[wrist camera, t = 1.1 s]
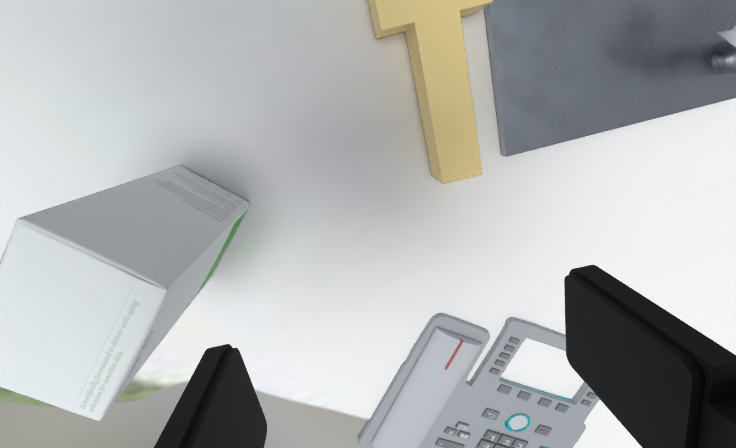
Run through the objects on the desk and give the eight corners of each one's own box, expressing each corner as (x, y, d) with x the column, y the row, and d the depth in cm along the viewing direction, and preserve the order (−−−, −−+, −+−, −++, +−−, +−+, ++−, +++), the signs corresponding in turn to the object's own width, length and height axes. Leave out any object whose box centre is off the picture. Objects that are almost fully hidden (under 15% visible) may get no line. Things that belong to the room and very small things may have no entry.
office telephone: (356, 459, 38) (445, 299, 32) (355, 436, 40) (438, 285, 35) (542, 507, 42) (648, 374, 37) (531, 484, 44) (628, 356, 39)
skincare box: (210, 278, 32) (101, 432, 17) (135, 243, 30) (-56, 378, 16) (254, 199, 30) (173, 294, 15) (176, 156, 28) (2, 218, 14)
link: (350, -81, 24) (352, -110, 21) (458, -109, 24) (477, -142, 21) (406, 181, 30) (414, 191, 27) (492, 159, 30) (511, 166, 27)
